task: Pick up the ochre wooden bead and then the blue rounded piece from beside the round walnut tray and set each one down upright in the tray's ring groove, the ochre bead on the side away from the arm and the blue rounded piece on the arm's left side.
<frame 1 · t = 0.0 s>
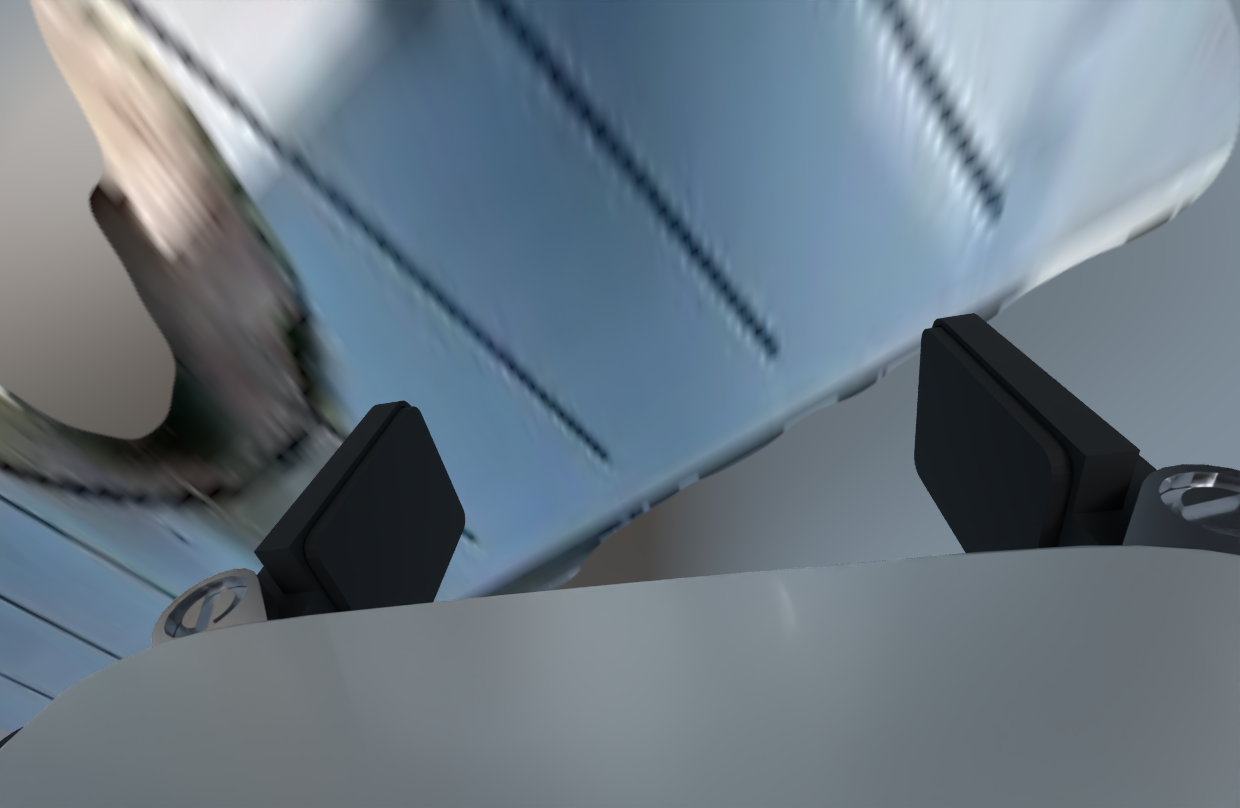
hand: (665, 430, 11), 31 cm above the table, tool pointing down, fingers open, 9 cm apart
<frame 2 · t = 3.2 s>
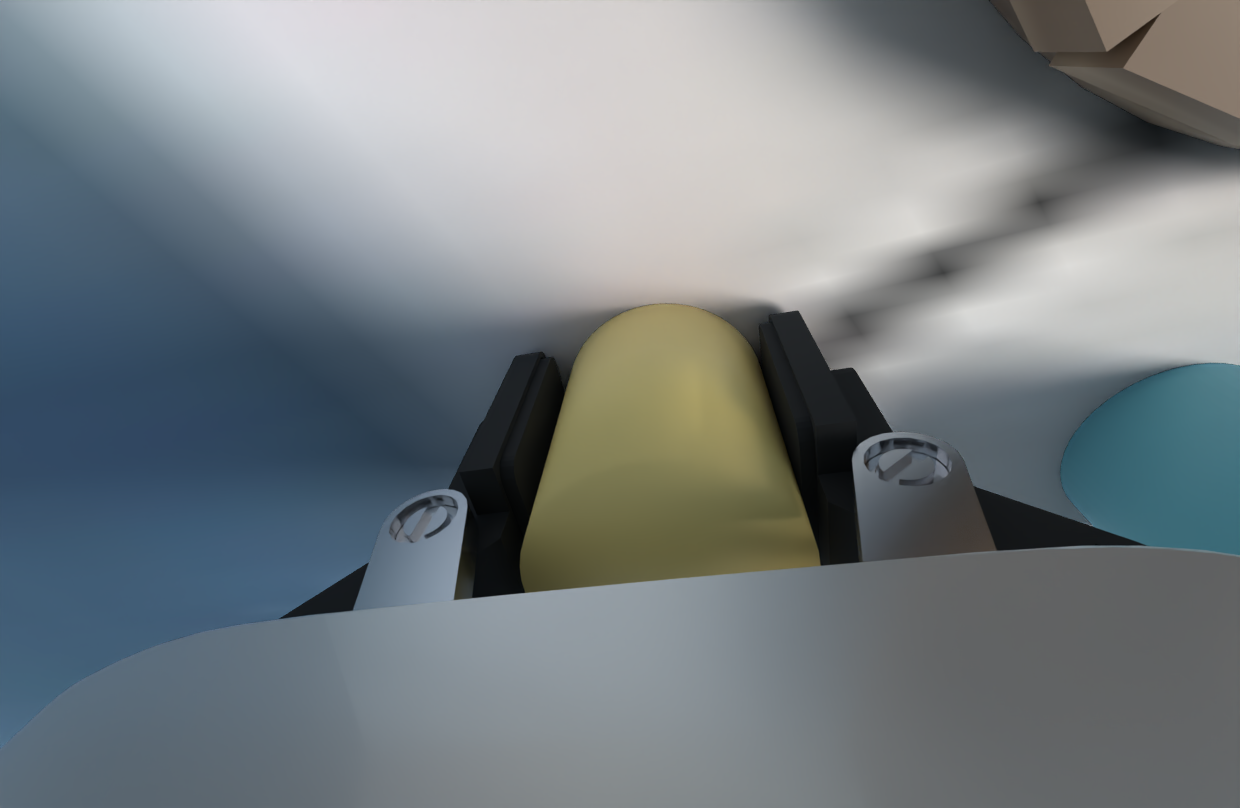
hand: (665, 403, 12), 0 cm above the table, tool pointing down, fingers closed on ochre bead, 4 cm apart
blue rounded piece: (1167, 449, 12), on the table
ochre bead: (665, 394, 12), on the table, touching gripper
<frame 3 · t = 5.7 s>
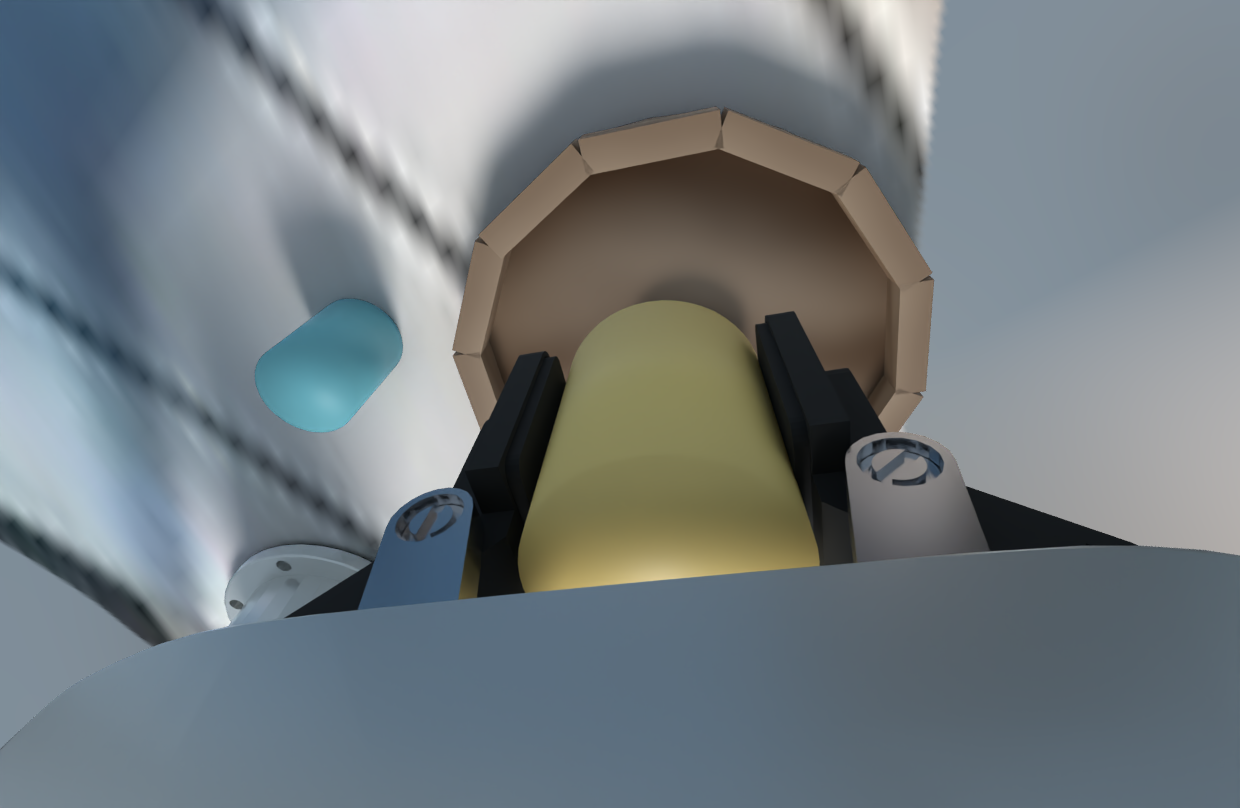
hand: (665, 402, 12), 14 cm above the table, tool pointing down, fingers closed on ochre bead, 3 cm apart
blue rounded piece: (360, 338, 28), on the table
groove tray: (684, 348, 27), on the table
ochre bead: (664, 391, 12), point 14 cm above the table, touching gripper
when the fingers open (3 cm above the table, at t = 8.1 s): ochre bead drops 1 cm, resting on groove tray.
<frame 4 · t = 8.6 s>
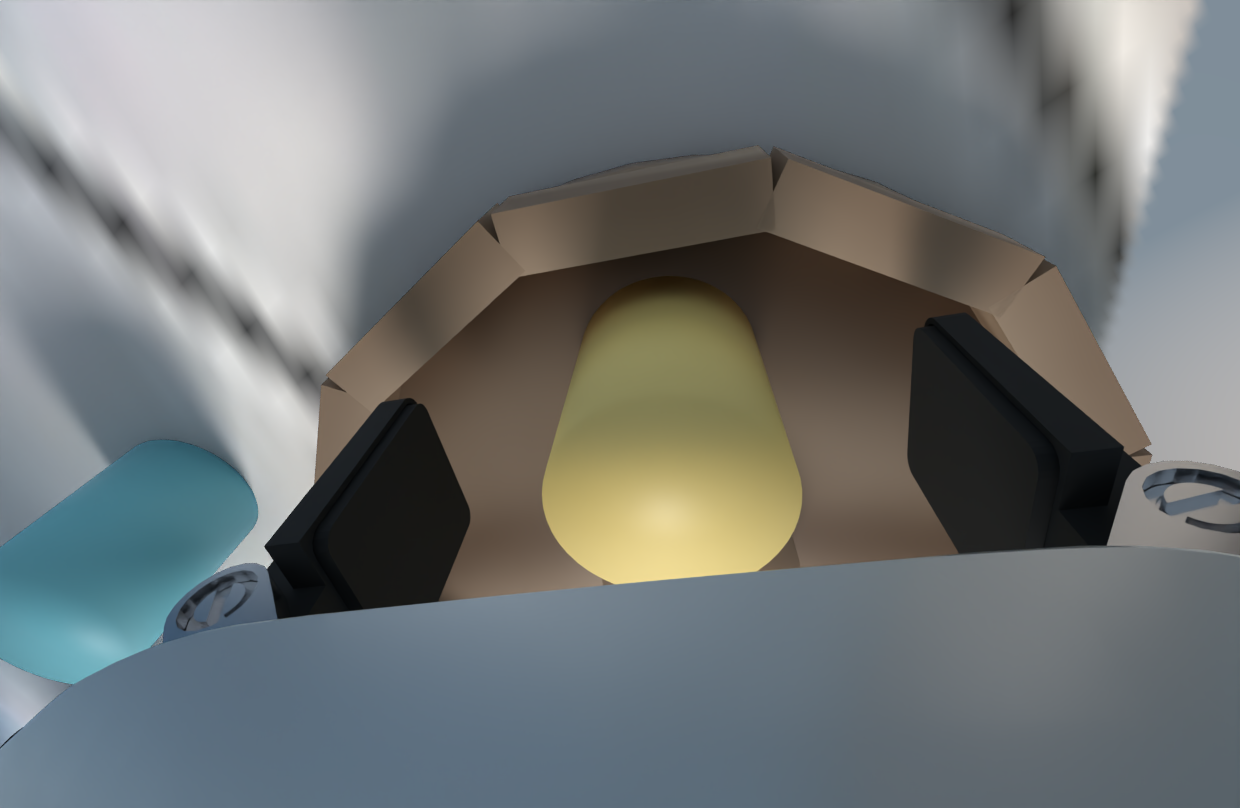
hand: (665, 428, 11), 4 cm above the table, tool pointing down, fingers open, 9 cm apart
blue rounded piece: (191, 493, 18), on the table
groove tray: (695, 514, 17), on the table
ochre bead: (667, 360, 13), point 1 cm above the table, touching groove tray
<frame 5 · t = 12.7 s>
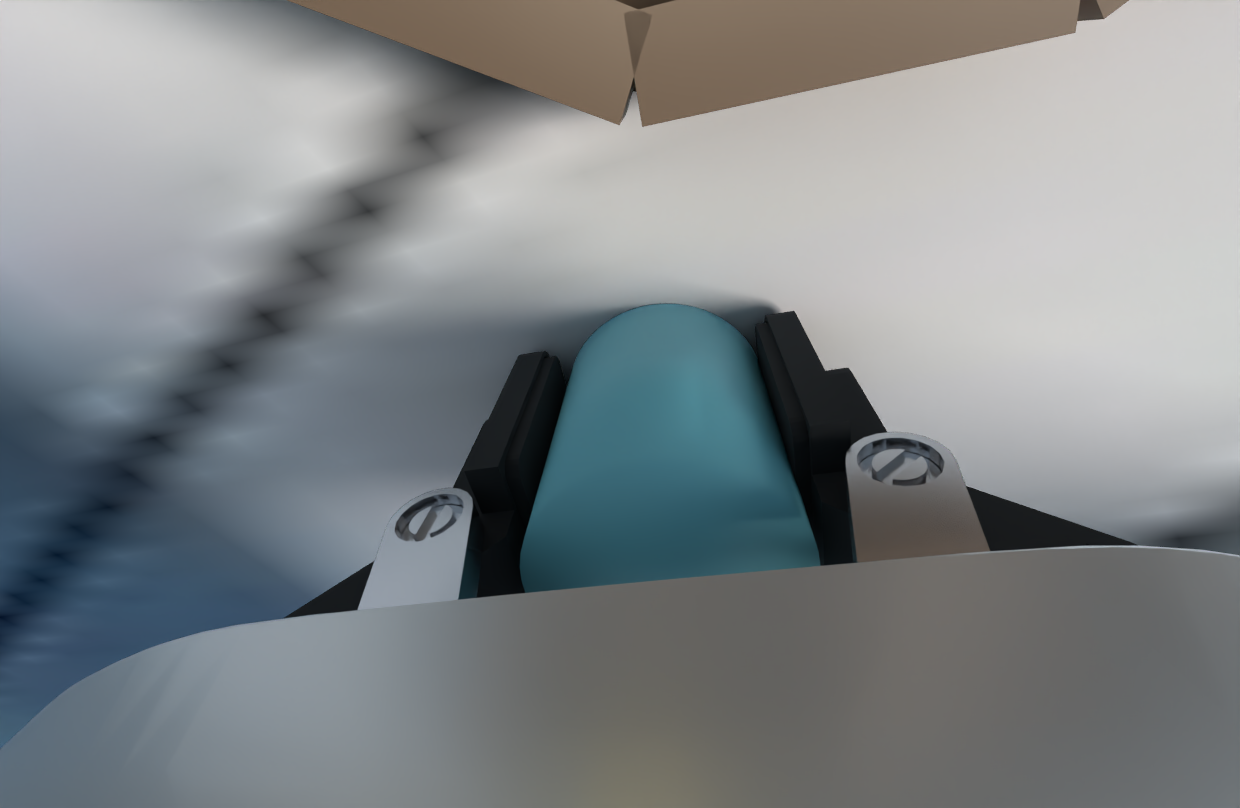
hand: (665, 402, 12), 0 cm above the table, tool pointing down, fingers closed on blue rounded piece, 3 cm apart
blue rounded piece: (665, 394, 12), on the table, touching gripper
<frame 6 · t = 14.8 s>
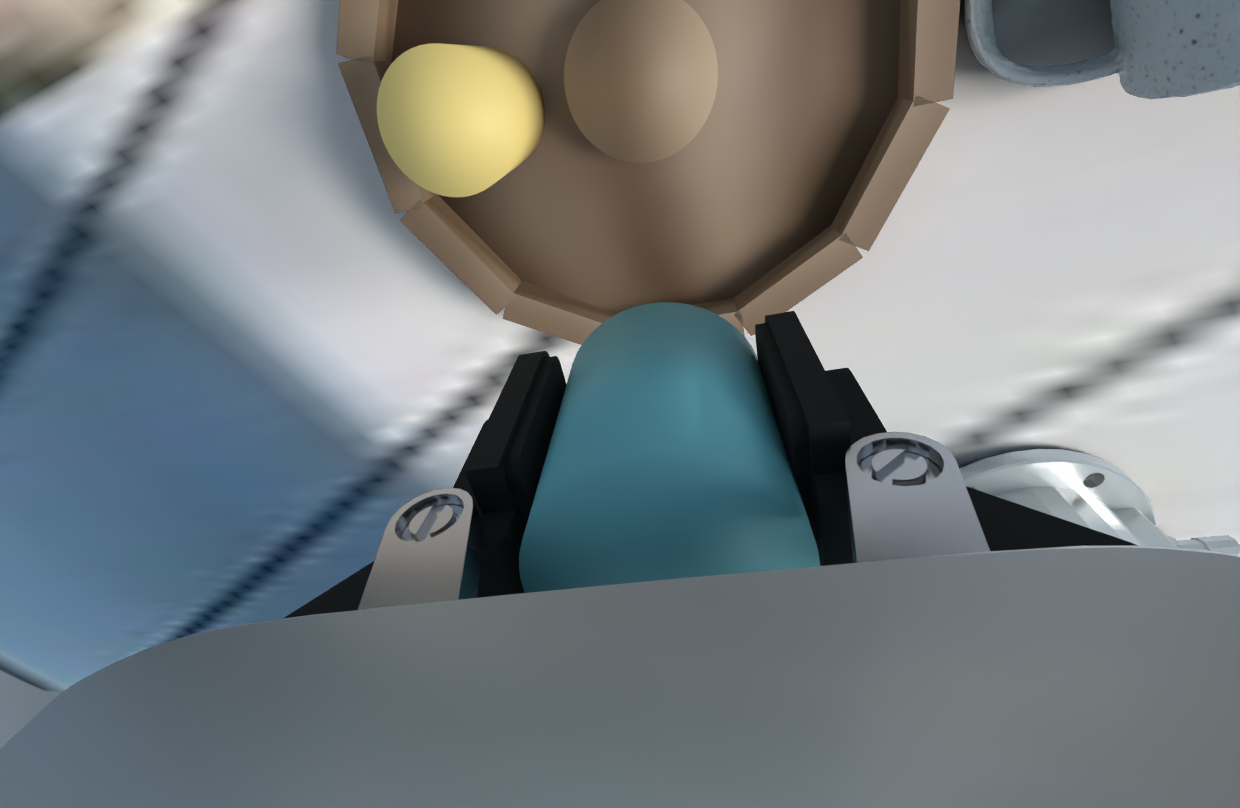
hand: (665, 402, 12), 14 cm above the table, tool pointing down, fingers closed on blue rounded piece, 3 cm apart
blue rounded piece: (664, 393, 12), point 14 cm above the table, touching gripper
groove tray: (642, 78, 21), on the table
ochre bead: (490, 111, 21), point 1 cm above the table, touching groove tray
when the fingers open (3 cm above the table, at t = 17.0 s): blue rounded piece drops 1 cm, resting on groove tray.
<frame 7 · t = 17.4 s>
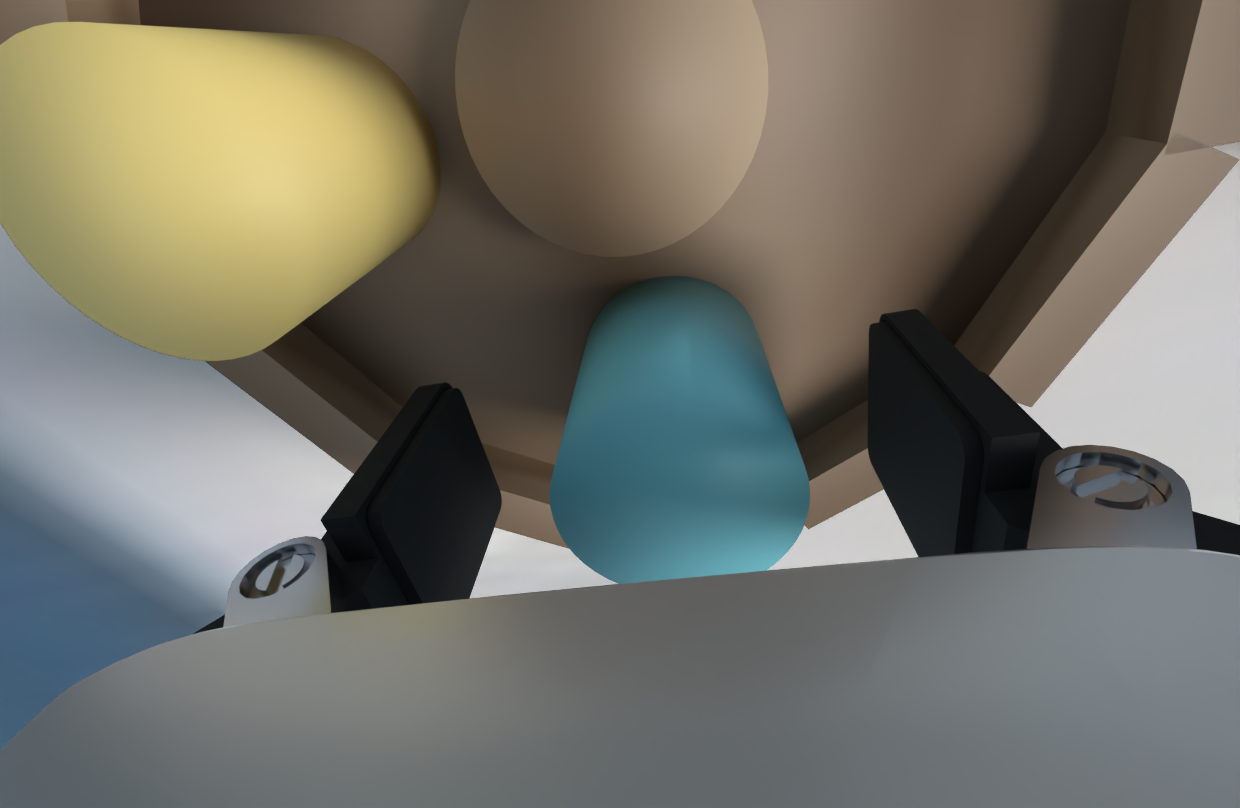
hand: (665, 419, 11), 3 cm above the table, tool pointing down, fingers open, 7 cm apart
blue rounded piece: (672, 360, 13), point 1 cm above the table, touching groove tray
groove tray: (619, 94, 12), on the table
ochre bead: (339, 155, 11), point 1 cm above the table, touching groove tray
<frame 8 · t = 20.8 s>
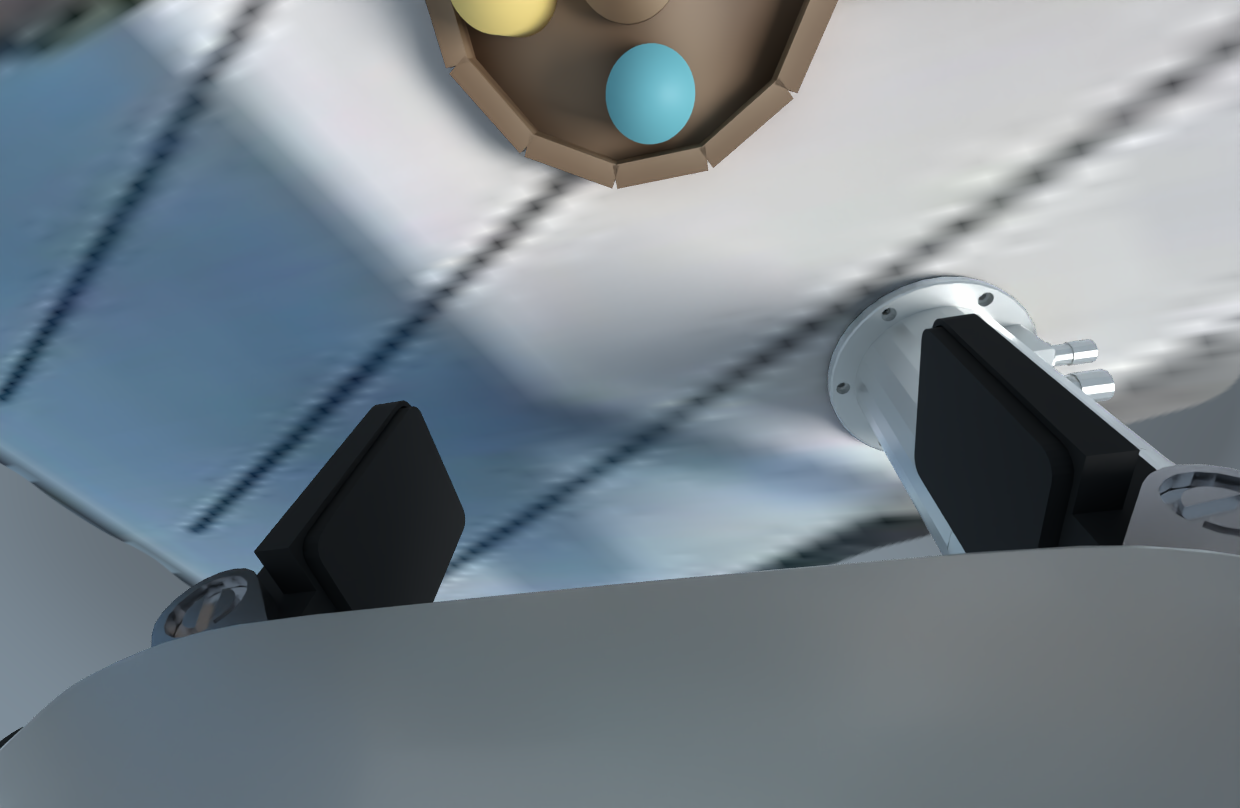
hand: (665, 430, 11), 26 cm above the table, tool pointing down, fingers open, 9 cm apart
blue rounded piece: (652, 89, 30), point 1 cm above the table, touching groove tray
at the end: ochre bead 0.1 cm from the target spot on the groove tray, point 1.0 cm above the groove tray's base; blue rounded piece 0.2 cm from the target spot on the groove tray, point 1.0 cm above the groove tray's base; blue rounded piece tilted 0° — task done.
